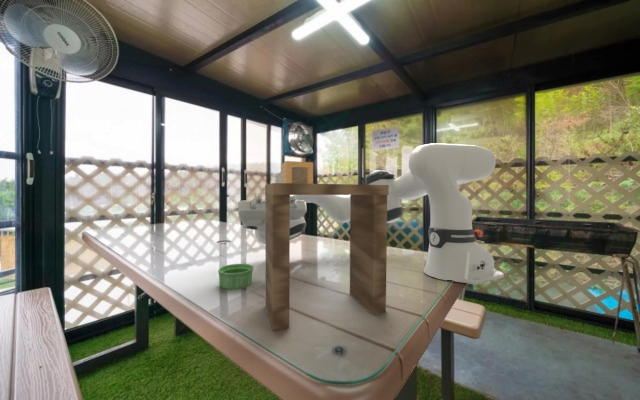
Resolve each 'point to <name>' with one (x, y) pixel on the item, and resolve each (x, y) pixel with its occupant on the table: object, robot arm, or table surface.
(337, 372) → the table surface
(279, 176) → the recessed wooden block
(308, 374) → the table surface
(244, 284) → the ramekin
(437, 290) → the table surface
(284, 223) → the shelf
